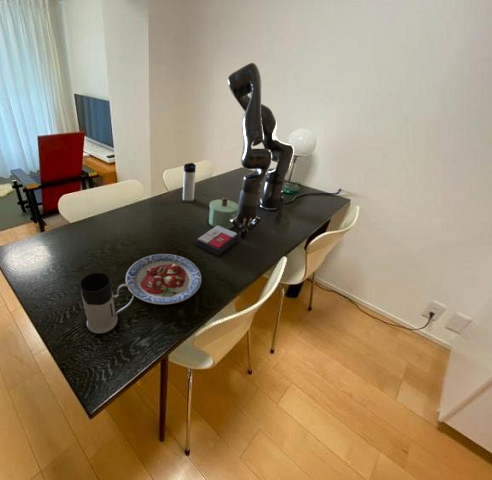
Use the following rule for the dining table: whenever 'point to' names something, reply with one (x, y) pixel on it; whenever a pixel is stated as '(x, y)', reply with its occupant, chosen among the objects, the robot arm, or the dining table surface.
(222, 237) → the black square box
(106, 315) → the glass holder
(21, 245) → the dining table surface
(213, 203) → the pot lid
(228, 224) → the pot
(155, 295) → the ceramic plate
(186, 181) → the travel mug
